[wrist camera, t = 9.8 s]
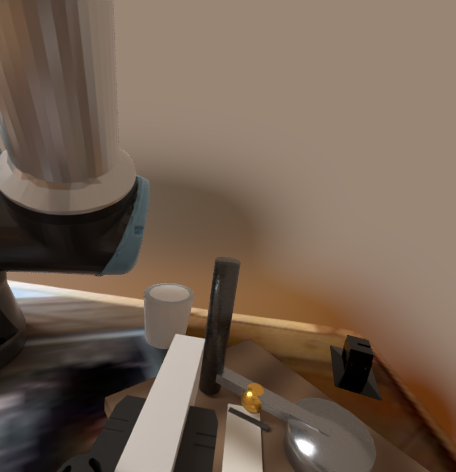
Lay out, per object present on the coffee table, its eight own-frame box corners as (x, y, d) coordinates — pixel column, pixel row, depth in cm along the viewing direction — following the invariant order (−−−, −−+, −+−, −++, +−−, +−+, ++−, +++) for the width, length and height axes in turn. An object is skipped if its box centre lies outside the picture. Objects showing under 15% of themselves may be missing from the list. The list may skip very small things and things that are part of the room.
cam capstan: (371, 445, 26) (415, 305, 22) (364, 522, 20) (423, 345, 16) (217, 364, 33) (234, 251, 30) (179, 401, 27) (195, 265, 24)
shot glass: (166, 359, 36) (171, 309, 34) (129, 337, 39) (133, 291, 38) (198, 336, 42) (204, 293, 40) (164, 319, 45) (168, 278, 44)
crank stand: (104, 410, 28) (105, 394, 27) (248, 347, 41) (250, 336, 40) (377, 986, 9) (392, 963, 9) (479, 527, 22) (487, 509, 22)
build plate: (391, 417, 33) (402, 383, 32) (325, 396, 35) (334, 364, 33) (370, 354, 44) (378, 328, 43) (322, 341, 46) (328, 316, 45)
